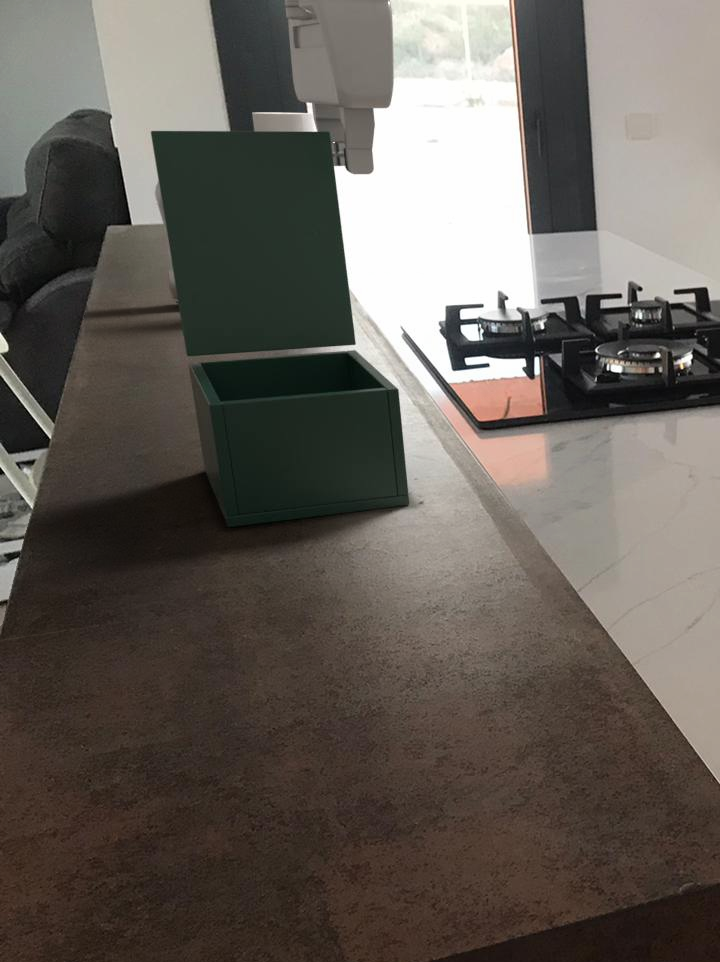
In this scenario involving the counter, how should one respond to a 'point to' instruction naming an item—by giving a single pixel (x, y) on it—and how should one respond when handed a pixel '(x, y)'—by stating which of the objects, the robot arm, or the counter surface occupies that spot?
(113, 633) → the counter surface
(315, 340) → the lid
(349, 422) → the green open box
